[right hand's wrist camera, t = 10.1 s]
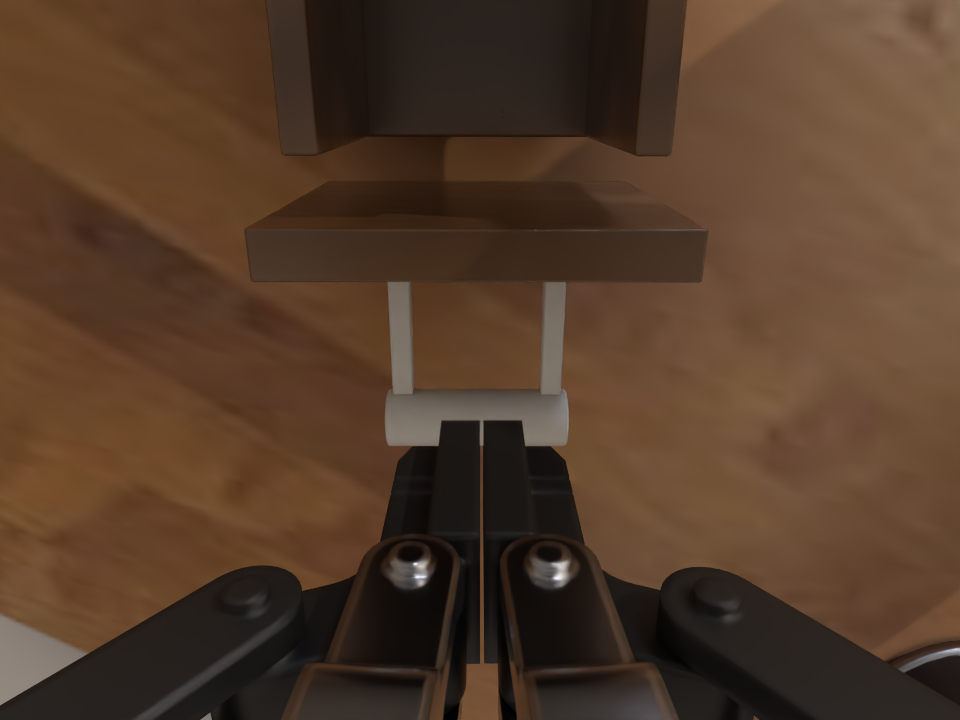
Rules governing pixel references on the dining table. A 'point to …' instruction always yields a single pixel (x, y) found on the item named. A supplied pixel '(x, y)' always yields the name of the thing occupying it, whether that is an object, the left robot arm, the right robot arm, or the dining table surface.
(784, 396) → the dining table surface
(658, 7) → the drawer
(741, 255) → the dining table surface
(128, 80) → the dining table surface
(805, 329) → the dining table surface
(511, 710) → the right robot arm
